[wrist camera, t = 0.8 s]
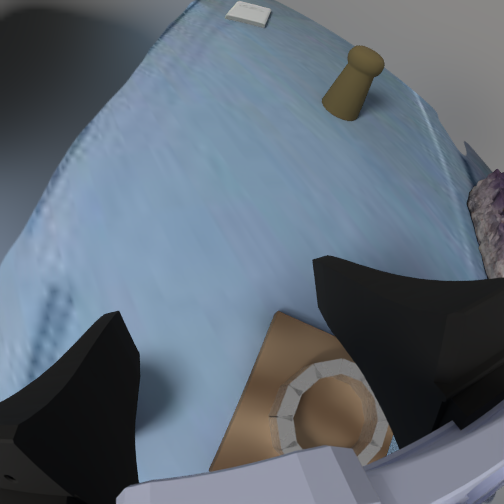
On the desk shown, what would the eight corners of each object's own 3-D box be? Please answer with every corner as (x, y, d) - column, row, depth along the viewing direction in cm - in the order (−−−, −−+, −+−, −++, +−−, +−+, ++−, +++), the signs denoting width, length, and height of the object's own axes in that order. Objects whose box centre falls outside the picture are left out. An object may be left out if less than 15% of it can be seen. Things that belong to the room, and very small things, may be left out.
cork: (364, 118, 45) (398, 65, 35) (340, 123, 42) (374, 63, 33) (340, 94, 46) (368, 41, 37) (314, 97, 44) (342, 38, 34)
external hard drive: (224, 20, 53) (236, 5, 59) (263, 30, 54) (270, 14, 60) (225, 14, 51) (237, 0, 58) (265, 24, 53) (271, 8, 59)
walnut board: (360, 507, 20) (366, 509, 19) (208, 470, 20) (210, 472, 19) (403, 369, 27) (409, 367, 26) (274, 314, 27) (278, 310, 26)
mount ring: (354, 483, 20) (367, 487, 19) (251, 456, 20) (258, 460, 18) (386, 383, 25) (399, 380, 23) (294, 347, 25) (303, 341, 23)
